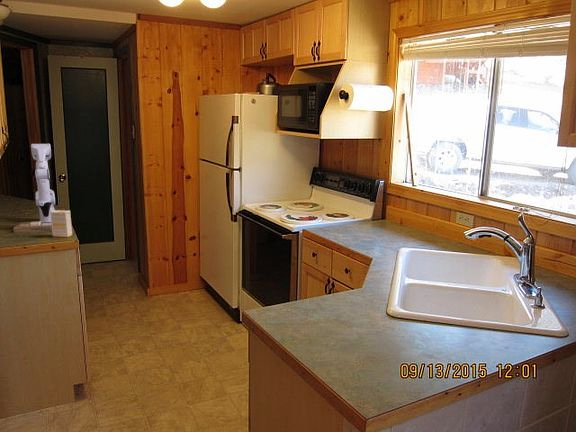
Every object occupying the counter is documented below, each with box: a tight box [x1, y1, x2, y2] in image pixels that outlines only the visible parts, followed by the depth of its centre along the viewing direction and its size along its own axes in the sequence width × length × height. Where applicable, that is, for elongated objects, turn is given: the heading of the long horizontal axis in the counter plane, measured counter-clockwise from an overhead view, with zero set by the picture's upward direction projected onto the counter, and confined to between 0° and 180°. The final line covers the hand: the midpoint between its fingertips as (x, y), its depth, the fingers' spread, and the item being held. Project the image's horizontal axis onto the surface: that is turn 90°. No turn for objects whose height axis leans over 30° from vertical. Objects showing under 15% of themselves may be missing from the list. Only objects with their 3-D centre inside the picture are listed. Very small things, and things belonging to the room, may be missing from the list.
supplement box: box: [50, 209, 73, 238], centre depth 247 cm, size 8×5×13 cm, turn 84°
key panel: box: [13, 221, 52, 234], centre depth 262 cm, size 13×18×2 cm
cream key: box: [30, 220, 41, 226], centre depth 261 cm, size 4×4×2 cm
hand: (46, 216), depth 262 cm, fingers closed
